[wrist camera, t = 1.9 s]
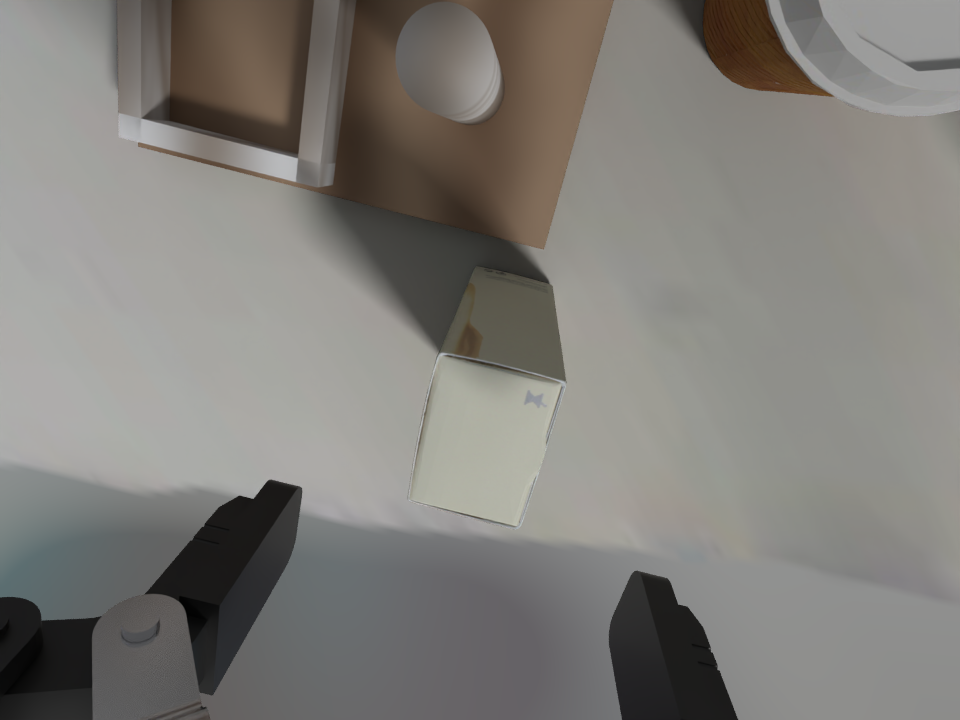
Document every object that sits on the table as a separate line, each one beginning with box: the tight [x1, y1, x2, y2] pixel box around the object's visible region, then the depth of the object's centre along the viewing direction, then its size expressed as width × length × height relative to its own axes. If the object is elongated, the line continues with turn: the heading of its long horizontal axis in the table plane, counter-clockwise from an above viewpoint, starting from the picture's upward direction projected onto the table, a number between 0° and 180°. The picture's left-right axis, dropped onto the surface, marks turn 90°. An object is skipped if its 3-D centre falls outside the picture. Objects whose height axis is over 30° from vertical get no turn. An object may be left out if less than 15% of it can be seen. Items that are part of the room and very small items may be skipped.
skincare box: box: [408, 267, 566, 530], centre depth 24 cm, size 6×4×12 cm
